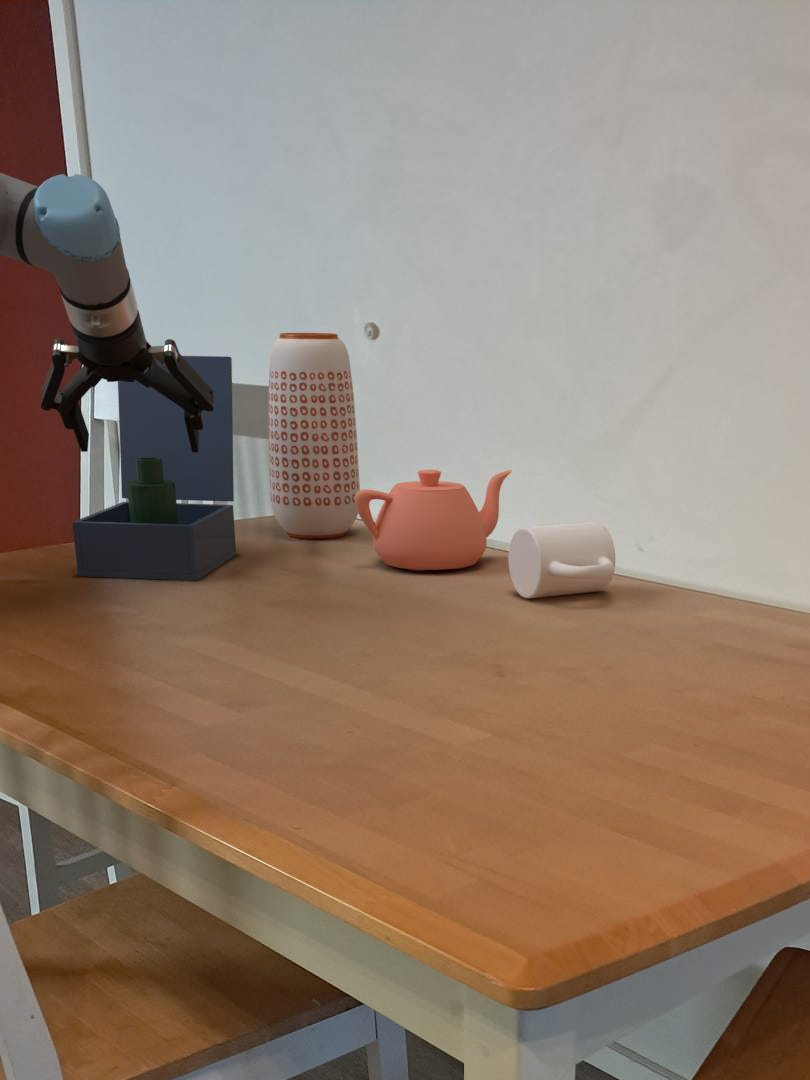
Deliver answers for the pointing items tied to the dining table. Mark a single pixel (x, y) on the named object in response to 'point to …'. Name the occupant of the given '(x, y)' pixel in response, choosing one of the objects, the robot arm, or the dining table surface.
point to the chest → (155, 543)
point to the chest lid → (181, 434)
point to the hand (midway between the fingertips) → (140, 443)
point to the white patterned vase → (312, 436)
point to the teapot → (430, 522)
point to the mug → (561, 559)
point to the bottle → (152, 494)
